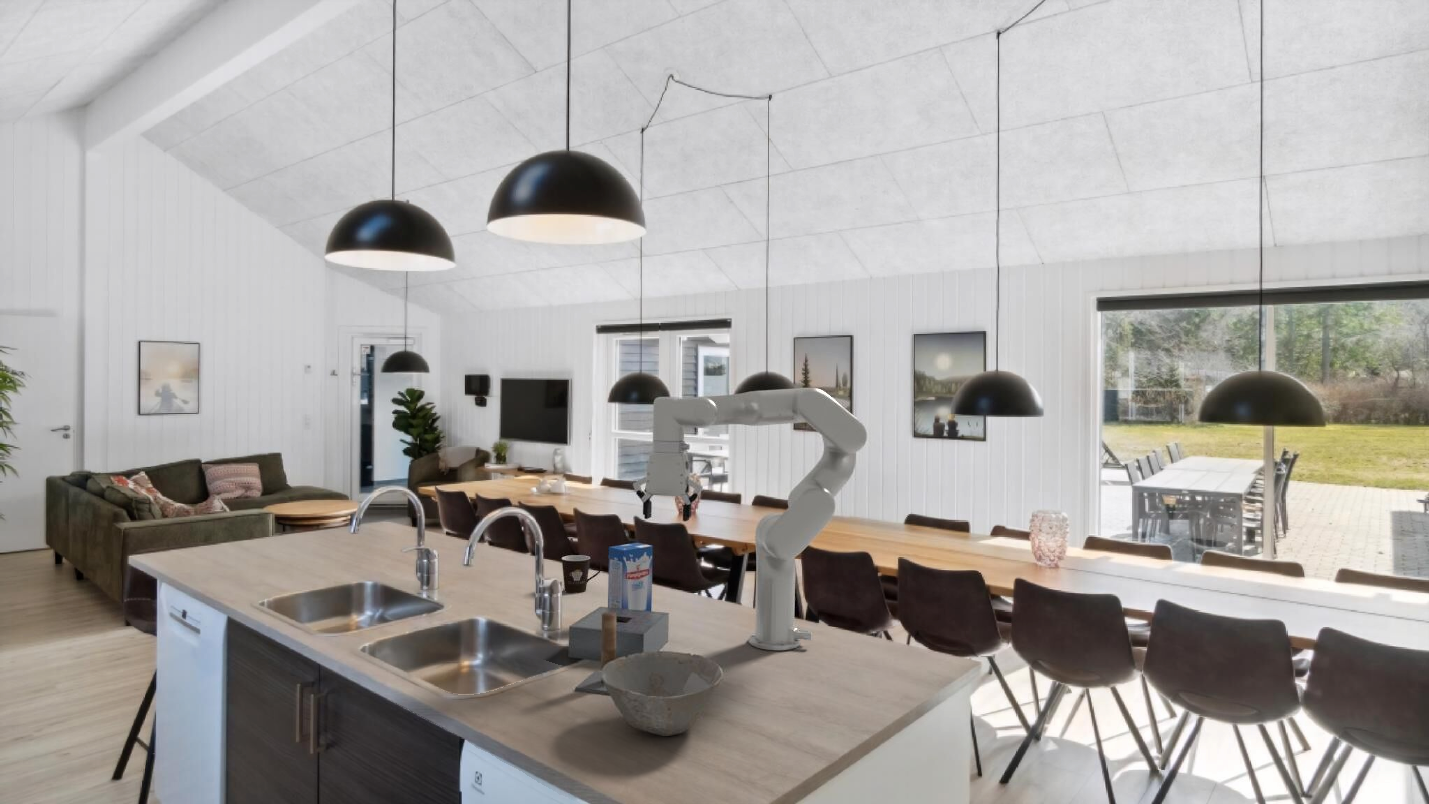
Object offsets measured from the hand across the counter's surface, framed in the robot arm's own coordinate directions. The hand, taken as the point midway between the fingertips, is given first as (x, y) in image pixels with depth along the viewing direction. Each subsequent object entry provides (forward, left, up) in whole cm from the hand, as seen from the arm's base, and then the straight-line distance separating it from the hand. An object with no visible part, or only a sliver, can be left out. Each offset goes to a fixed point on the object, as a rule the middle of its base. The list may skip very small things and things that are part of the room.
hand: (666, 519), depth 187 cm
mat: (+3, +28, -30) cm, 41 cm away
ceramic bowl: (-14, +44, -31) cm, 55 cm away
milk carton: (+15, -16, -31) cm, 38 cm away
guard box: (+9, +6, -30) cm, 32 cm away
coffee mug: (+41, -42, -31) cm, 66 cm away
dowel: (+3, +28, -30) cm, 41 cm away
